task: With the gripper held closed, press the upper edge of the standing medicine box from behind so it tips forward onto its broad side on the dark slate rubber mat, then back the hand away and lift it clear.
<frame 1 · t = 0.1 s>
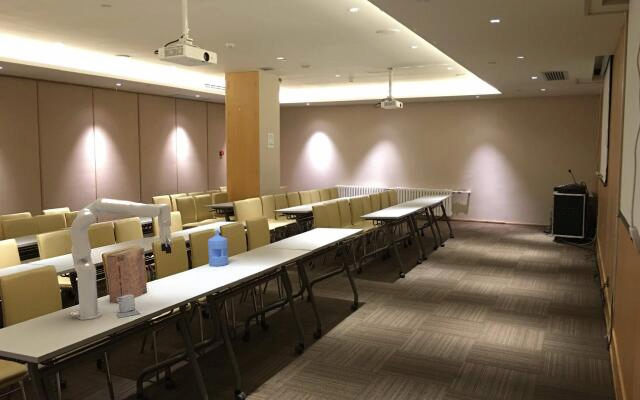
hand: (166, 252, 313), 31 cm above the table, fingers open, 9 cm apart
slate mat: (128, 314, 294), on the table
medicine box: (127, 311, 301), on the table, touching slate mat
water jug: (218, 264, 423), on the table
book: (129, 297, 331), on the table
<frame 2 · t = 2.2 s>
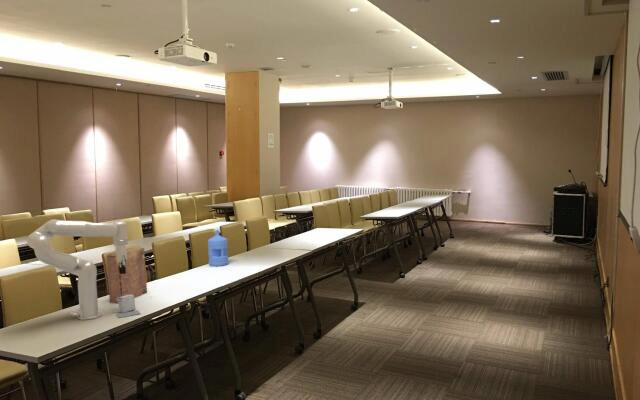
hand: (122, 273, 305), 21 cm above the table, fingers closed
nothing on the table moved.
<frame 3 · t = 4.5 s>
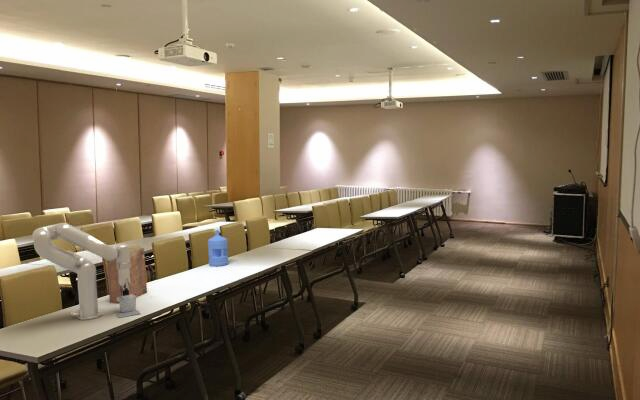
hand: (126, 296, 303), 8 cm above the table, fingers closed
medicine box: (127, 311, 301), on the table, touching gripper, slate mat
everything else where it was.
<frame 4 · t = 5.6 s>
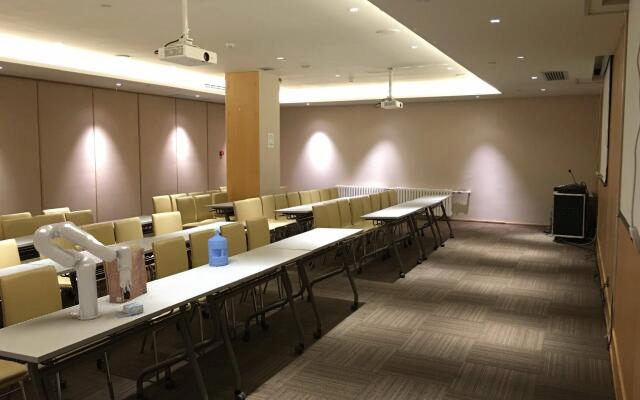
hand: (127, 298, 299), 8 cm above the table, fingers closed
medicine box: (129, 307, 299), point 3 cm above the table, touching slate mat
everything else where it was.
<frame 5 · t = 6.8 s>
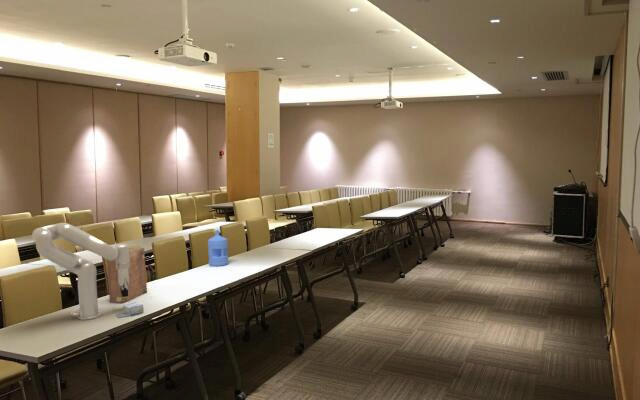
hand: (125, 296, 305), 8 cm above the table, fingers closed
nothing on the table moved.
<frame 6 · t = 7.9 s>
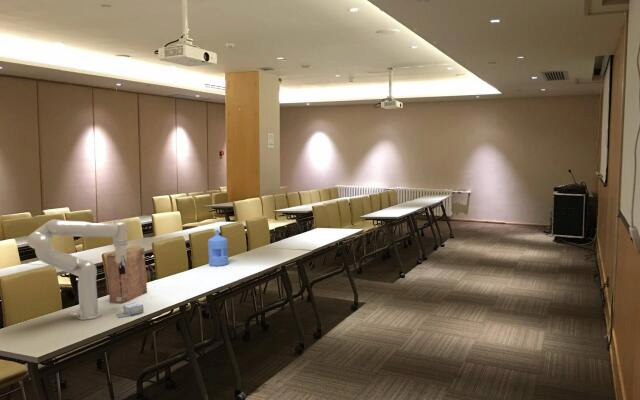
hand: (122, 274, 305), 20 cm above the table, fingers closed
nothing on the table moved.
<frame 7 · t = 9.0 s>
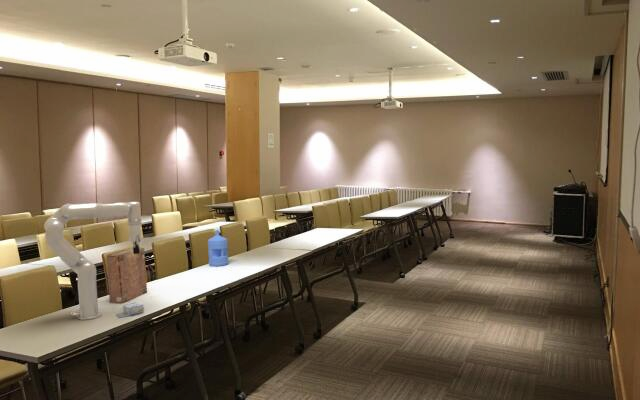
hand: (136, 253, 306), 32 cm above the table, fingers closed
nothing on the table moved.
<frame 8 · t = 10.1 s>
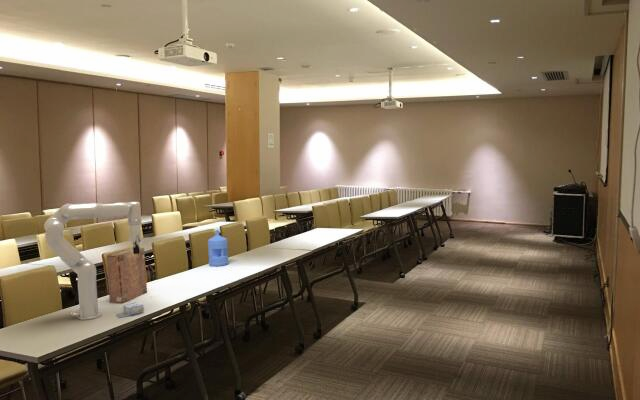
hand: (136, 253, 306), 32 cm above the table, fingers closed
nothing on the table moved.
at the end: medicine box tilted 89°; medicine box inside the target area (0.9 cm from its centre), point 2.5 cm above the table; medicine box touching slate mat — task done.
